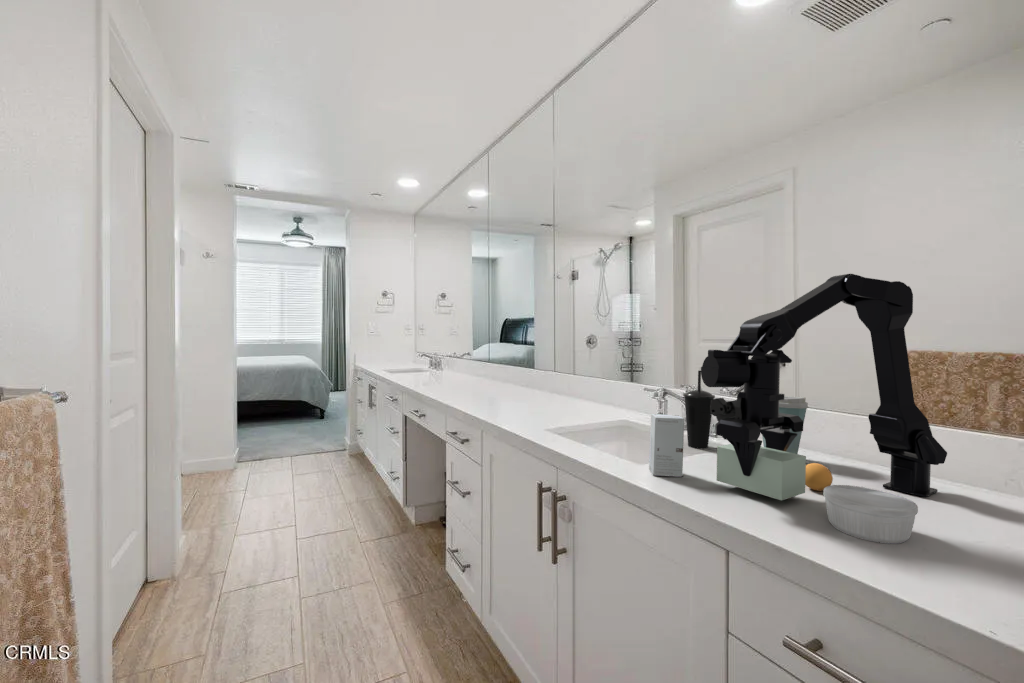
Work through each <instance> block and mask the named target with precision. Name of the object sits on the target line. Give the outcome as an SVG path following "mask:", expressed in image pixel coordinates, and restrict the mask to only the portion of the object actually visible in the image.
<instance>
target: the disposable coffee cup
mask: <svg viewBox="0 0 1024 683" xmlns="http://www.w3.org/2000/svg"><path fill="white" fill-rule="evenodd" d="M808 405H809V403H808V402H807V401H806V397H804V396H784V400H779V413H784V414H791V415H797V416H799V417H800V418H801V419H802V420H803V425H804V423H805V419H806V414H807V409H809V406H808ZM790 432H792V433H797V434H798V435H797V436H796V437H795V438H794V440H793V441H792V443H791V444H790V446H789V447H788V449H787V450H786V452H790V453H794V454H799V448H800V444H801V438H802V433H803V431H800V432H793V431H792V430H791V429H790ZM761 435H762V434H761ZM762 443H763V447H766V441H765V438H764V437H763V435H762Z"/></svg>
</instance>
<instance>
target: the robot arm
mask: <svg viewBox="0 0 1024 683" xmlns="http://www.w3.org/2000/svg"><path fill="white" fill-rule="evenodd" d="M841 302H842V304H846V305H849V306H852V307H855V310H856V313H857V316H858V318H859V320H860V321H861V322H862V324H863V325H864V326H865V327H866V328H867V329H868V330H869V332H870V338H871V345H872V346H871V347H872V352H873V361H874V366H875V373H876V380H877V388H878V394H879V395H878V396H879V401H880V402H879V403H880V405H878V406H879V407H878V408H877V410H876V411H875V413H869V414H868V422H869V425H870V430H869V434H870V435H872V436H873V439H874V441H875V442H876V444H877V445H876V446H877V447H878V450H879V451H878V452H879V453H882V454H886V455H890V478H889V479H890V480H889V482H886V483H883V484H882V488H885V489H888V490H893V491H898V492H902V493H906V494H910V495H913V496H917V497H918V496H919V497H922V498H927V497H930V496H932V495H933V494H936V493H937V492H938V491H939V490H938V489H937V488H935V487H931V467H932V466H931V465H934V466H939V464H941V465H942V464H944V463H945V462H946V459H947V456H948V451H947V450H946V449H945V448H944V447H943V446H942V445H941V444H940V443H939V442H938V441H937V439H935V437H934V436H933V433H932V429H931V426H930V424H929V423H930V422H929V420H928V418H927V417H926V415H925V414H924V413H923V412H922V411H921V410H920V409H919V407H918V406H917V405H916V402H915V396H914V390H913V383H912V376H911V374H912V373H911V369H910V361H909V354H908V347H907V340H906V333H905V327H906V325H907V324H908V322H909V321H910V318H911V317H912V316H913V313H914V312H913V311H914V309H913V308H914V294H913V290H912V288H911V286H910V285H907V284H906V283H905V282H902V281H898V280H897V281H895V280H894V281H889V280H885V279H878V278H872V277H865V276H861V275H858V274H854V273H846V274H845V273H844V274H839V275H833V276H830V277H828V279H826V280H825V282H823V283H822V284H820V285H818V286H817V287H815V288H813V289H812V290H810V291H809V292H806V293H805V294H803V295H802V296H800V297H798V298H796V299H795V300H793V301H792V302H790V303H788V304H787V305H785V306H784V307H782V308H780V309H778V310H777V309H776V310H775V311H772V312H769V313H765V314H761V315H759V316H758V315H757V316H756V317H752V318H749V319H747V320H745V321H744V322H743V323H742V324H741V325H740V326H739V328H740V329H739V332H738V335H737V336H736V337H735V339H734V340H733V341H732V343H731V344H730V345H729V347H728V348H727V350H721V349H708V351H707V356H706V357H705V359H703V362H702V365H701V367H700V371H701V380H702V382H703V383H704V385H705V386H706V387H708V388H741V387H743V391H739V392H738V393H737V395H736V399H734V400H730V401H726V399H724V398H723V397H717V398H714V399H713V400H711V406H710V409H711V410H710V413H711V414H712V416H713V417H716V421H717V422H716V423H715V435H716V436H720V437H722V438H723V440H726V441H728V442H729V444H732V445H733V447H734V449H735V451H736V454H737V457H738V460H739V463H740V466H741V469H742V472H743V475H745V476H750V475H751V473H752V470H753V468H754V465H755V462H756V459H757V456H758V453H759V450H760V447H761V446H762V443H763V440H761V439H759V437H760V436H761V435H763V437H764V438H765V441H766V448H771V449H776V450H780V451H785V452H786V450H787V449H788V447H789V446H790V444H791V443H792V441H793V440H794V438H795V437H796V436H797V435H798V434H797V433H792V432H790V429H791V430H792V431H793V432H800V431H802V432H804V424H803V420H802V419H801V418H800V417H799V416H797V415H791V414H784V413H779V400H784V397H785V393H780V382H781V381H780V378H781V377H780V376H781V375H780V374H781V372H780V371H781V364H791V363H792V362H793V359H792V358H790V356H788V355H787V354H785V353H784V350H782V348H783V347H784V346H786V345H787V344H788V343H789V342H790V341H791V340H792V339H794V337H795V335H796V334H797V331H798V330H799V329H800V328H801V327H802V326H803V325H806V324H807V323H808V322H810V321H811V320H813V319H815V318H817V317H818V316H820V315H821V314H823V313H825V312H826V311H829V310H830V309H831V308H833V307H835V306H837V305H838V304H840V303H841ZM763 437H762V438H763Z"/></svg>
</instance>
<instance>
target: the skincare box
mask: <svg viewBox="0 0 1024 683" xmlns="http://www.w3.org/2000/svg"><path fill="white" fill-rule="evenodd" d="M649 429H650V431H649V457H648V458H649V461H648V463H649V464H648V470H649V472H650V473H651V475H652V476H653V477H654V476H655V477H656V476H661V477H676V478H677V477H678V478H680V477H681V478H682V477H683V470H684V469H683V468H684V466H683V465H684V440H685V439H684V437H685V436H684V435H685V418H684V417H682V416H680V415H677V414H658V413H657V414H656V413H650V428H649Z"/></svg>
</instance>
